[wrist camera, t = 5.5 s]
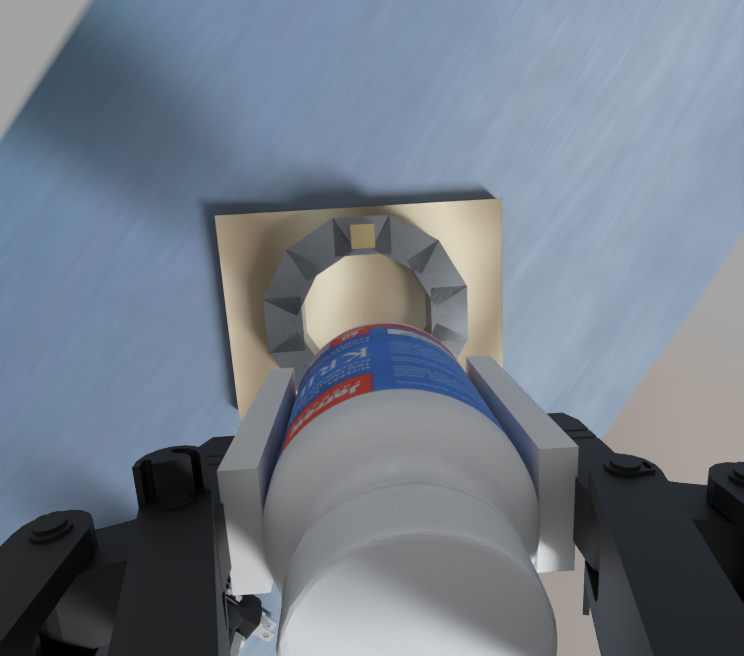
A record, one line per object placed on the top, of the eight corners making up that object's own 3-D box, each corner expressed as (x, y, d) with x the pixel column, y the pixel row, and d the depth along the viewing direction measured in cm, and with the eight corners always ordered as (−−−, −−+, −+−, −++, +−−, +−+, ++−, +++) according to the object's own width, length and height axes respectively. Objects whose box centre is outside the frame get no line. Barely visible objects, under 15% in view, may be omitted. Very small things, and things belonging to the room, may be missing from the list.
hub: (280, 408, 31) (273, 427, 28) (260, 221, 29) (251, 222, 26) (462, 395, 31) (473, 412, 29) (457, 209, 29) (469, 209, 26)
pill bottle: (344, 288, 16) (337, 401, 6) (495, 364, 17) (693, 567, 7) (269, 438, 17) (163, 733, 7) (414, 503, 18) (492, 849, 8)
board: (242, 413, 32) (239, 419, 31) (218, 215, 30) (214, 215, 29) (497, 394, 33) (502, 400, 32) (496, 198, 30) (501, 198, 29)
